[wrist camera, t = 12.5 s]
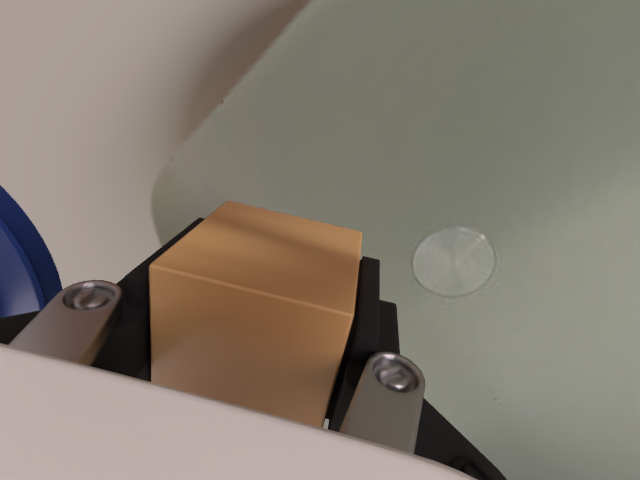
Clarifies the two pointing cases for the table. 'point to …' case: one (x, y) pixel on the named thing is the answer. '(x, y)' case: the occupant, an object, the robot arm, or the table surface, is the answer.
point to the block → (255, 310)
